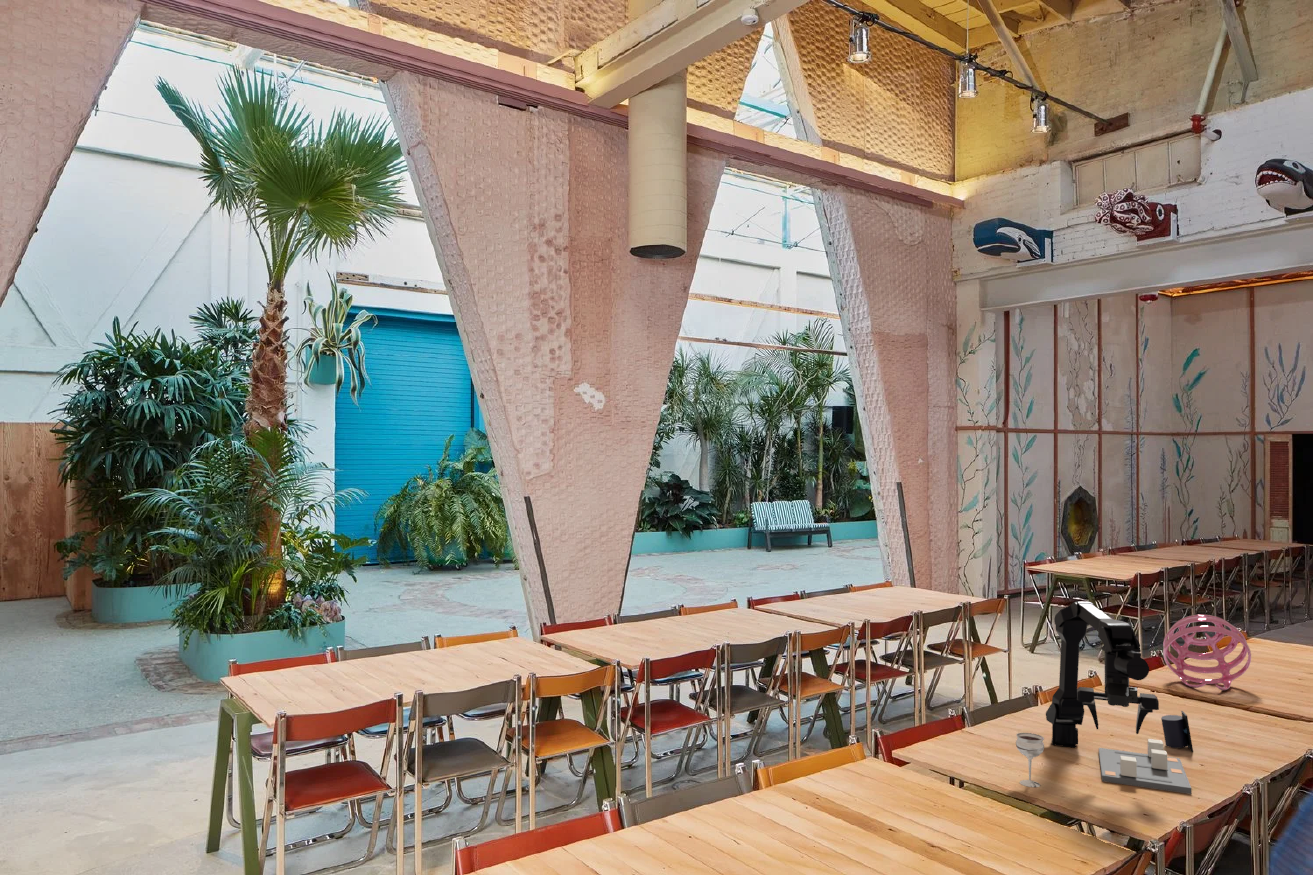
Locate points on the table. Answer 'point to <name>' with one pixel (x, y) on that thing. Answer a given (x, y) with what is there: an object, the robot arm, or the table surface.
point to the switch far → (1154, 745)
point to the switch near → (1128, 766)
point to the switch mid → (1159, 759)
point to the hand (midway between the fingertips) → (1117, 731)
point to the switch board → (1144, 772)
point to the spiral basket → (1216, 654)
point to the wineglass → (1030, 751)
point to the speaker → (1177, 731)
